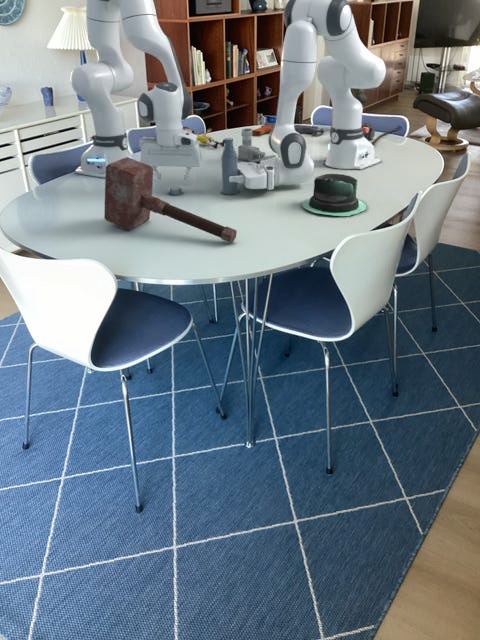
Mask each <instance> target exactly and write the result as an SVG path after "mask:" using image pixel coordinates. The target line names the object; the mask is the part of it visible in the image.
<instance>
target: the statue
mask: <svg viewBox="0 0 480 640" xmlns="http://www.w3.org/2000/svg"><path fill="white" fill-rule="evenodd" d="M350 90H351V93H352V95H353V97H354V98H355V99H357V100H358V101H359V102H360V103H361V104H362V107H363V108H364V104H365V103H367V102H368V96H367V95H366V94H365V91H364V89H356V88H350Z"/></svg>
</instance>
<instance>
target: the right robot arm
mask: <svg viewBox="0 0 480 640" xmlns="http://www.w3.org/2000/svg"><path fill="white" fill-rule="evenodd" d="M283 22H284V26H285V29H286V31H285V35H284V40H283V44H282V50H281V58H280V72H279V92H278V97H277V98H278V99H277V107H276V114H275V120H274V122H273V123H274V126H273V128H272V130H271V132H269V134H268V139H267V140H268V146H269V149H270V150H271V151H272V152H273V153H274V154H276V155H277V158H275V159H273V158H272V159H267V160H261V161H259V163H257V162H250V161H244V162H243V161H242V162H237V176H234V175H232V176H229V177H228V178H229V182H238V183H239V184H243V185H244V187H245V188H246V189H250V190H264V189H267V190H270V191H271V190H274V188H275V187H277V186H281V185H286V186H290V185H291V186H292V185H300V184H304V183H308V182H309V181H310V180H311V179H312V177H313V176H314V172H315V162H314V160H313V159H312V158H311V156H310V154H309V152H308V147H307V141H306V139H305V137H304V136H303V135H302V134H301V133H298V132H296V131H295V128H294V125H295V117H296V109H297V103H298V99H299V97H300V95H301V94H302V93H303V92H304V91H306V90H307V89H309V88H310V87H311V85H312V84H313V81H314V78H315V74H316V78H317V80H318V81H319V83H320V84H321V85H322V86H323V87H324V88H325V91H327V93H328V96H329V98H330V101H331V112H332V113H331V115H332V116H331V126H330V130H329V137H330V140H329V143H328V144H327V145H328V146H327V156H326V157H325V163H324V164H325V166H327V167H330V168H334V169H341V170H342V169H343V170H348V169H350V170H351V169H352V170H363V169H365V168H368V167H370V166H373V165H376V164H378V163H381V158H379V157H377V156H376V155H375V150H376V149H375V145H376V143H377V141H378V140H380V139H381V138H383V137H384V136H385V135H388V134H390V133H394V132H396V131H398V130H399V129H401V125H397V127H396V128H395V129H394V128H393V129H391V130H388V131H386V132H383V133H382V134H380V135H378V136H377V137H376V138H375V139H374V141H372V143H371V141H368V140H367V139H366V138H365V137H364V134H363V132H365V133H368V129H369V128H368V127H363V128H362V127H361V125H362V123H363V122H362V121H363V111H364V106H363V107H362V104H361V103H360V102H359V101H358V100H357V99H355V98H354V97H353V95H352V93H351V90H350V88H356V89H363V90H369V89H375V88H379V86H380V85H382V84H383V82H384V80H385V78H386V74H387V68H386V64H385V61H384V60H383V59H382V58H381V57H379V56H377V55H375V54H374V53H372V52H371V51H370V50H369V49H368V48H367V47H366V46H365V44H364V43H363V42H362V40H361V39H360V36H359V33H358V30H357V25H356V22H355V17H354V14H353V10H352V6H351V5H350V2H349V1H348V0H288V1H287V2H286V4H285V6H284V9H283ZM318 36H319V37H321V36H322V38H323V43H324V45H325V48H326V51H327V53H328V55H325V56H323V57H321V59H320V60H319V62H318V63H317V58H318Z"/></svg>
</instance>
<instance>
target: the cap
mask: <svg viewBox="0 0 480 640" xmlns="http://www.w3.org/2000/svg"><path fill="white" fill-rule="evenodd" d="M168 190H169V195H170V196H179V195H181V194H182V186H179V185H178V186H176V185H175V186H174V185H173V186H170V187H169V189H168Z"/></svg>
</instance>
